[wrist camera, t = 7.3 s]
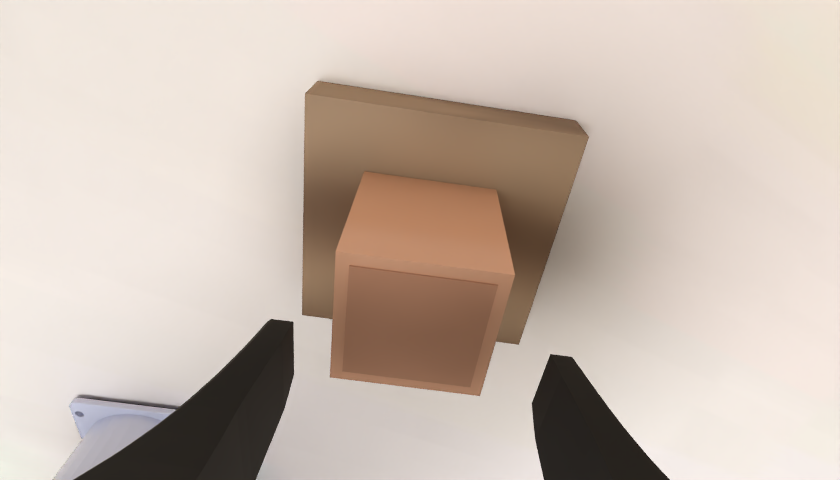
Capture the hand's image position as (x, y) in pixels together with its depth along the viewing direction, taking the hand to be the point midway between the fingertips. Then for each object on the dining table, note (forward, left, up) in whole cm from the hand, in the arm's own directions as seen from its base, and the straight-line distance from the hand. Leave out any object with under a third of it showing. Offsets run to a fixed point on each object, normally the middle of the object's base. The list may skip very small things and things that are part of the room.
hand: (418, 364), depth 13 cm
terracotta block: (0, 0, -7) cm, 7 cm away
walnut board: (0, 0, -9) cm, 9 cm away
